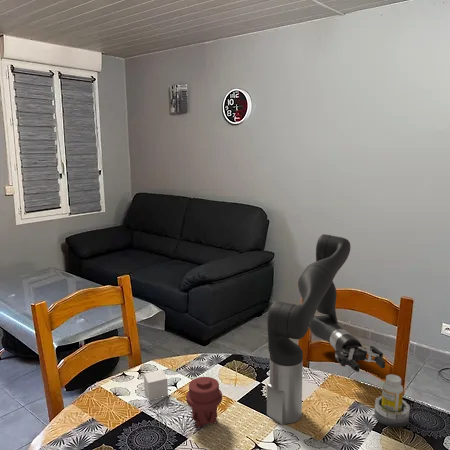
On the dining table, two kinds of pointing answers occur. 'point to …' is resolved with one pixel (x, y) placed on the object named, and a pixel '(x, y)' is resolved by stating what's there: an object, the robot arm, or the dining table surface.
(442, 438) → the dining table surface
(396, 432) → the dining table surface
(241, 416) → the dining table surface
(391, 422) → the collar
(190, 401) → the mechanical component
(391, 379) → the supplement bottle
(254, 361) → the dining table surface
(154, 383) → the grey cube
